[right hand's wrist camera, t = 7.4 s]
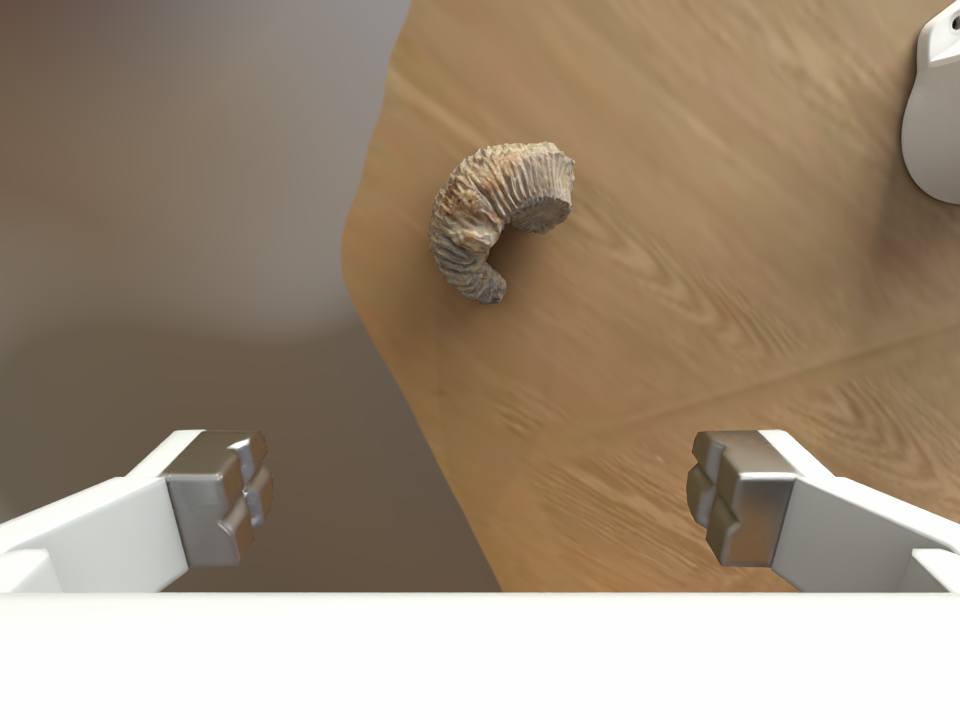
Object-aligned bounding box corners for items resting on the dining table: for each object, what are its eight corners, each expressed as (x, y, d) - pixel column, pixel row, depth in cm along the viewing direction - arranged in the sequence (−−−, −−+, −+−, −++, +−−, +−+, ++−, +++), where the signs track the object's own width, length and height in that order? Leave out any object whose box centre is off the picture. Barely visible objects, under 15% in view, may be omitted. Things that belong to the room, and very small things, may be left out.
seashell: (546, 139, 47) (534, 81, 37) (608, 232, 46) (612, 198, 36) (422, 227, 49) (379, 195, 39) (479, 318, 48) (449, 308, 38)
